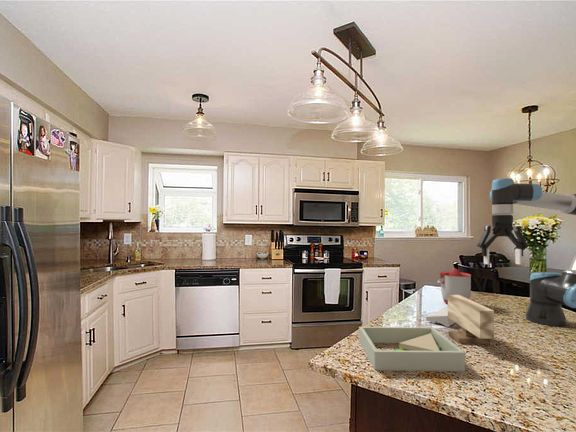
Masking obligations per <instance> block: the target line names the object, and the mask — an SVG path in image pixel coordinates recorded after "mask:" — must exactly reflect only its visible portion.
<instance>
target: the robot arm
mask: <svg viewBox="0 0 576 432" xmlns="http://www.w3.org/2000/svg"><path fill="white" fill-rule="evenodd" d="M489 199H490V201H491V211H492V212H491V214H493V215H492V216H491V224H492V225H485V226H484V230H483V232H482V234H481V236H480V239H479V241H478V243H477V245H476V247H478V248H480V249H481V256H482V257H483V264H484V265H490V249H489V247H490V246H491V244H492V243H493V242H494V241H495V240H496V239H497V238H498V237H507V238H508V239H509V240H510V241H511V243H512V244H513V245H514V246H515V247H516V248H515V250H514V251H515V252H514V254H515V257H514V259H515V260H514V262H515V264H516V265H519V266H520V265H523V264H522V262H523V260H522V259H523V257H524V250H525V249H526V248H528V247H529V245H528V243H527V240H526V239H525V237H524V235H523V233H522V231H521V226H520V225H514V226H513V224H514V216H513V214H514V205H520V206H524V207H525V206H526V207H532V208H539V209H547V210H554V211H560V212H561V213H563V214H567V215H573V216H576V193H565V194H560V193H554V192H553V193H552V192H546V191H543V188H542V186H541V185H540V184H538V183H532V182H530V183H514V180H513V179H512V178H509V177H507V178H506V177H505V178H503V177H502V178H494V179H493V180H492V182H491V190H490V192H489ZM491 231H492V232H491ZM513 232H514V233H513ZM490 233H491V234H490ZM489 235H490V236H489ZM562 305H564V306H567V307H569V308H571V309H576V253H575V254H574V256H573V259H572V261H571V264H570V265H569V268H568V269H566V270H564V271H562V273H560V272H532V273H531V274H530V276H529V304H528V307H527V309H526V312H525V319H526V320H527V321H530V322H531V323H535V324H540V325H544V326H545V325H546V326H552V327H565V326H568V325H567V321H568V320H567V318H566V315H565V311H564V309H563V307H562Z"/></svg>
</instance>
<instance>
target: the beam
mask: <svg viewBox="0 0 576 432" xmlns="http://www.w3.org/2000/svg"><path fill="white" fill-rule="evenodd" d="M447 306H448V318H449V319H451V320H452V321H454V322H455V323H454V324H457V325H459V326H460V328H461V327H463V328H465V329H466V330H468V331H469V332H471V333H472V334H474V335H475V336H477V337H479V338H487V339H490V340H491V339H492V340H493V339H495V311H494V309H491V308H489V307H487V306H485V305H483V304H481V303H478V302H476V301H473V300H471V299H470V298H469V299H467V298H465V297H463V296H461V295H448V304H447Z"/></svg>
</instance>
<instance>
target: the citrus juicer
mask: <svg viewBox="0 0 576 432" xmlns="http://www.w3.org/2000/svg"><path fill="white" fill-rule="evenodd" d="M439 275H440V276H439V277H440V278H439V279H437V283H438V284H439V283H440V291H441V295H442V296H441V297H442V300H443V302H444V303H445V304H447V305H448V295H461V296H463V297H465V298H467V299H469V300H470V297H471V292H472V290H471V289H472V284H471V283H472V279H471V278H472V274H470V273H467V272H460V270H459V269H458V268H453V269H452V270H451V271H441V272H440V273H439Z"/></svg>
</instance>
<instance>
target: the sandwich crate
mask: <svg viewBox="0 0 576 432" xmlns="http://www.w3.org/2000/svg"><path fill="white" fill-rule="evenodd" d="M430 333H431V334H432V336H433V338H434V340H435V342H436V344H437V345H439V347H440V350H439V351H404V350H395V349H393V350H392V349H391V350H386V349H385V350H382V349H379V350H378V349H377V347H376V346H375V344H399V343H401V342H404V341H407V340H410V339H414V338H417V337H420V336H423V335H426V334H430ZM358 342H359V344H360V347H361V348H362V350H363V352H364V353H365V356H366V357H367V359H368V360H369V361H368V362H370V364H371V366H372V368H373V370H374V371H410V372H411V371H413V372H414V371H416V372H417V371H419V372H423V371H424V372H426V371H429V372H466V351H465V350H463V349H462V348H460V347H459V346H457V345H456V344H455V343H453V342H452V341H451V340H450V339H448V338H447V337H446V336H444V335H443V334H442V333H440V332H439V331H438V330H437V329H436V328H434V327H433V326H431V327H429V326H423V327H422V326H358Z"/></svg>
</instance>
